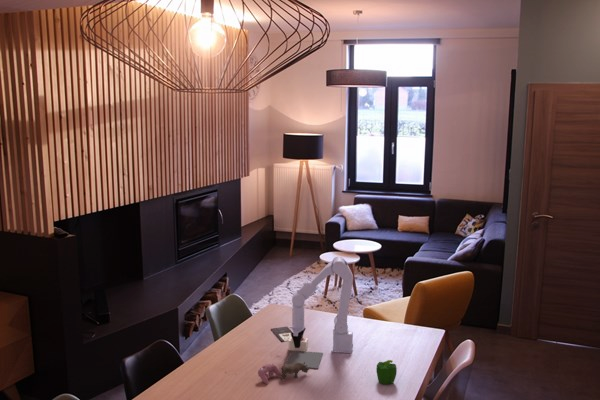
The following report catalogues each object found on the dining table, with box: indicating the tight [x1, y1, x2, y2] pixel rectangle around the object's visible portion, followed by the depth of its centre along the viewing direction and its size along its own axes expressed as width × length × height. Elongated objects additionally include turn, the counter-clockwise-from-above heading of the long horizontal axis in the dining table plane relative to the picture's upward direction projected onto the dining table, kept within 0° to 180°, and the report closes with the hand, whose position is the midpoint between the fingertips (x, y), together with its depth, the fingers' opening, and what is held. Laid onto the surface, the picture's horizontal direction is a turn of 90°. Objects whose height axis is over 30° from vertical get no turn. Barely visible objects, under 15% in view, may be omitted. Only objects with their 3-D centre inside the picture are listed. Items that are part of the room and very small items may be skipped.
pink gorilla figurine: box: [257, 363, 282, 385], centre depth 237 cm, size 10×5×7 cm, turn 141°
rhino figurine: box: [280, 362, 311, 381], centre depth 239 cm, size 4×14×6 cm, turn 110°
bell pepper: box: [375, 359, 398, 386], centre depth 234 cm, size 8×8×10 cm
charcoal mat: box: [284, 350, 324, 370], centre depth 256 cm, size 15×17×1 cm
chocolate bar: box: [270, 326, 293, 343], centre depth 287 cm, size 9×1×18 cm
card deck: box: [288, 337, 309, 352], centre depth 269 cm, size 8×5×5 cm, turn 80°
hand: (298, 345), depth 269 cm, fingers closed on card deck, 5 cm apart
